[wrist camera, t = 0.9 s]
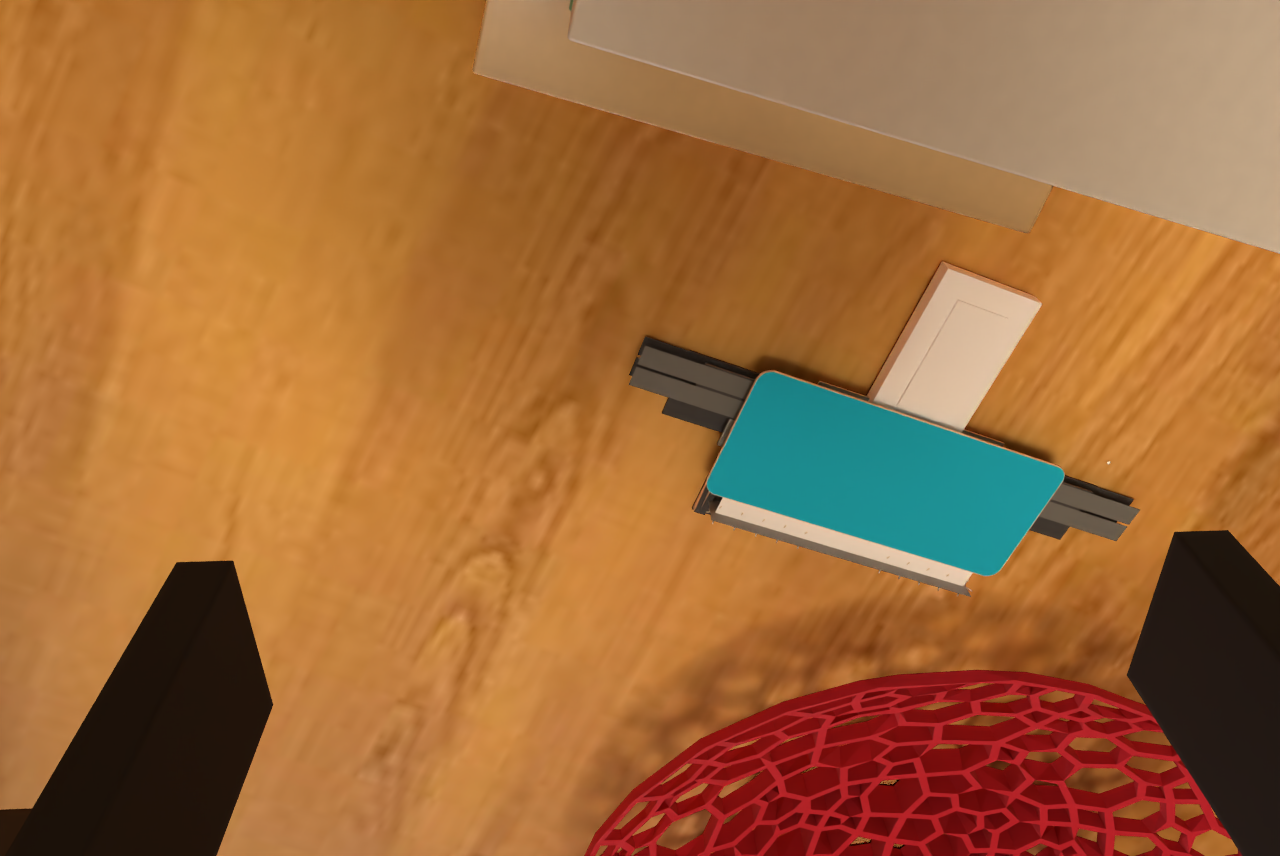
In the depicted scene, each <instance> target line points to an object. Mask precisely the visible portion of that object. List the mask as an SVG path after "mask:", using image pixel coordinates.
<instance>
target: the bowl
mask: <svg viewBox="0 0 1280 856" xmlns="http://www.w3.org/2000/svg"><path fill="white" fill-rule="evenodd" d="M979 683H995V684H991V685H987V686H983V687H979V688H974V689H959V688H963V687H967V686H971V685H975V684H979ZM1056 690H1058V691H1063V692H1068V693H1073V694H1075V695H1074V697H1073V698H1069V699H1066V700H1062V701H1059V702H1055V703H1052V702H1047V701H1042V700H1039V696H1041V695H1044V694H1047V693H1050V692H1053V691H1056ZM1006 695H1027V698H1023V699H1019V700H1016V701H1012V702H1008V703H991V702H982V701H986V700H990V699H994V698H998V697H1002V696H1006ZM1094 699H1096V700H1099V701H1101V702H1104V703H1107V704H1110V705H1112V706H1115V707H1118V708H1119V709H1115V708H1110V707H1104V706H1099V705H1094V704H1091V703H1092V701H1093V700H1094ZM937 702H963V703H959V704H955V705H951V706H948V707H944V708H940V709H936V710H918V709H915V708H919V707H922V706H926V705H930V704H933V703H937ZM874 715H880V716H878V717H876V718H873V719H871V720H869V721H866V722H861V723H856V724H851V725H846V726H841V727H836V728H832V727H834V726H837V725H840V724H843V723H845V722H848V721H851V720H854V719H856V718H859V717H865V716H874ZM975 715H989V716H1008V717H1015V718H1013V719H1010V720H1007V721H1004V722H1001V723H998V724H995V725H992V726H970V725H947V724H950V723H953V722H956V721H959V720H963V719H966V718H969V717H972V716H975ZM811 717H813V718H811ZM808 718H809V719H808ZM1059 718H1064V719H1068V720H1069V721H1063V720H1059ZM1101 718H1109V719H1114V720H1113V721H1110V722H1106V723H1099V722H1095V721H1093V720H1097V719H1101ZM829 728H831V729H829ZM1035 729H1042V730H1048V731H1053V732H1052V733H1051V734H1050V735H1024V734H1026V733H1028V732H1031V731H1033V730H1035ZM1143 730H1147V731H1155V732H1163V731H1162V729H1161V728H1160V726H1159V725H1158V723H1157V721H1156V720H1155V718H1154V717H1153V715H1152V714H1151V712H1150V711H1149V709H1148V707H1147V706H1146V705H1143V704H1141V703H1138V702H1135V701H1133V700H1130V699H1127V698H1125V697H1122V696H1119V695H1117V694H1114V693H1111V692H1108V691H1106V690H1103V689H1100V688H1098V687H1095V686H1092V685H1090V684H1086V683H1081V682H1075V681H1070V680H1065V679H1060V678H1054V677H1049V676H1044V675H1039V674H1033V673H1028V672H1012V671H989V670H967V671H950V672H933V673H916V674H899V675H892V676H886V677H880V678H873V679H867V680H860V681H856V682H853V683H849V684H845V685H842V686H838V687H835V688H831V689H827V690H824V691H820V692H817V693H813V694H809V695H806V696H802V697H798V698H795V699H791V700H788V701H784V702H781V703H779V704H777V705H775V706H772V707H770V708H768V709H766V710H763V711H761V712H759V713H757V714H755V715H752V716H750V717H748V718H746V719H743V720H741V721H739V722H737V723H734V724H732V725H730V726H728V727H726V728H723V729H721V730H719V731H717V732H714V733H712V734H710V735H708V736H705V737H703V738H701V739H699V740H698V741H697V742H695V743H694V744H693V745H691V746H690V747H689V748H687V749H686V750H685V751H684V752H682V753H681V754H680V755H678V756H677V757H676V758H674V759H673V760H672V761H670V762H669V763H668V764H666V765H665V766H664V767H662V768H661V769H660V770H658V771H657V772H656V773H654V774H653V775H652V776H650V777H649V778H648V779H646V780H645V781H644V782H642V783H641V784H640V785H638V786H637V787H636V788H634V789H633V790H632V791H631V792H630V794H629V795H628V796H627V797H626V798H625V799H624V801H623V802H622V803H621V804H620V805H619V806H618V807H617V809H616V810H615V811H614V812H613V813H612V814H611V816H610V817H609V818H608V819H607V820H606V821H605V822H604V824H603V825H602V826H601V827H600V828H599V829H598V831H597V832H596V833H595V835H594V837H593V839H592V841H591V843H590V845H589V847H588V849H587V851H586V853H585V855H584V856H595V855H596V853H597V851H598V849H599V847H600V846H602V845H609V846H608V847H607V848H606V850H605V851H604V853H603V854H601V855H600V856H632V855H631V854H632V853H633V851H634V850H635V849H636V848H640V847H645V846H648V847H646V848H644V849H643V850H641V851H639V852H638V853H636V854H634V855H633V856H1034V855H1032V854H1031V853H1029V852H1027V851H1026V850H1028V849H1030V848H1032V847H1034V846H1036V845H1038V844H1040V843H1041V844H1044V845H1046V846H1047V847H1046V848H1045V849H1043V850H1042V851H1040V852H1039V853H1038V854H1036V855H1035V856H1128V855H1126V854H1124V853H1121V852H1119V851H1117V850H1114V840H1115V835H1120V836H1137V837H1148V838H1149V839H1150V840H1151V841H1152V842H1153V843H1154V844H1155V845H1157V846H1156V847H1155V848H1154V849H1153V850H1152V851H1149V852H1146V853H1143V854H1140V855H1137V856H1204V855H1202V854H1201V853H1199V852H1197V851H1196V850H1194V849H1192V848H1191V847H1192V844H1193V842H1194V839H1195V837H1196V836H1198V835H1200V834H1202V833H1204V832H1207V831H1209V830H1211V829H1212V830H1214V831H1216V832H1218V833H1220V834H1222V835H1224V836H1226V837H1228V838H1230V839H1231V837H1230V836H1229V834H1228V833H1227V831H1226V829H1225V828H1224V826H1223V825H1222V823H1221V822H1220V820H1219V819H1218V818H1216V817H1215V816H1214V814H1213V811H1212V809H1211V807H1210V804H1209V803H1208V801H1207V800H1206V798H1205V797H1204V795H1203V793H1202V792H1201V790H1200V789H1199V787H1198V786H1197V784H1196V782H1195V781H1194V779H1193V778H1192V776H1191V775H1190V773H1189V772H1188V770H1187V768H1186V767H1185V765H1184V764H1183V762H1182V761H1181V759H1180V757H1179V756H1178V754H1177V753H1176V751H1175V750H1174V748H1173V746H1172V745H1171V746H1167V745H1159V744H1151V743H1143V742H1136V741H1130V740H1128V739H1127V738H1125V737H1124V736H1122V735H1126V734H1130V733H1134V732H1139V731H1143ZM1163 733H1164V732H1163ZM807 734H808V735H807ZM803 735H805V736H803ZM799 736H803V737H800V738H797V739H795V740H792V741H789V742H787V743H784V744H781V743H782V742H784V741H785V740H787V739H790V738H794V737H799ZM1076 737H1085V738H1106V739H1108V740H1109V741H1111V742H1112V743H1114V744H1115V745H1117V747H1116V748H1114V749H1113V750H1112V751H1110V752H1097V751H1081V750H1074V749H1073V748H1071V747H1070V746H1069V744H1070V743H1071V742H1072V741H1073V740H1074V739H1075V738H1076ZM760 738H761V739H760ZM756 739H759V740H758V741H756V742H755V743H753V744H751V745H748V746H744V747H741V748H737V749H734V750H730V749H731V748H733V747H734V746H737V745H740V744H743V743H747V742H750V741H753V740H756ZM779 744H781V745H779ZM844 744H846V745H844ZM938 744H969V745H966V746H964V747H961V748H954V749H932V748H933V747H935V746H936V745H938ZM778 745H779V746H778ZM839 745H842V746H839ZM728 750H730V751H728ZM1029 752H1058V753H1059V754H1060V755H1062V756H1061V757H1059V758H1058V759H1056V760H1055V761H1054V762H1052V763H1051V764H1050V763H1044V762H1039V761H1034V760H1029V759H1025V758H1026V756H1027V755H1028V753H1029ZM1132 756H1138V757H1145V758H1153V759H1160V760H1167V761H1174V763H1175V764H1176V765H1177V767H1175V768H1172V769H1170V770H1167V771H1165V772H1162V773H1160V774H1159V773H1154V772H1149V771H1144V770H1140V769H1135V768H1131V767H1130V766H1128V765H1127V764H1126V763H1127V762H1128V761H1129V759H1130V758H1131V757H1132ZM996 760H999V761H1003V762H1007V763H1011V765H1009V766H1008V767H1007V768H1005V769H1004V770H999V769H996V768H992V767H988V766H985V765H987V764H989V763H991V762H994V761H996ZM687 763H688V764H692V765H691V766H690V767H689V768H688V769H687V770H686V771H684V772H683V773H681V774H679V775H678V776H676V777H674V778H673V779H671V780H670V781H668V782H666V783H665V784H663V785H660V784H661V783H662V782H664V781H665V780H666V779H667V778H669V777H670V776H671V775H673V774H674V773H675V772H677V771H678V770H679V769H680V768H682V767H683V766H684V765H686V764H687ZM730 765H731V766H730ZM726 766H729V767H726ZM813 766H817V767H818V768H815V769H813V770H810V771H808V772H806V773H803V774H800V772H802V771H804V770H807V769H809V768H811V767H813ZM724 767H726V768H724ZM1081 768H1117V769H1119V770H1120V771H1121V772H1123V773H1124V774H1126V775H1127V776H1129V777H1130V778H1131V779H1133V780H1134V782H1132V783H1129V784H1126V785H1123V786H1120V787H1117V788H1114V789H1111V790H1109V791H1106V792H1103V793H1100V794H1098V793H1093V792H1088V791H1084V790H1079V789H1074V788H1069V787H1067V786H1066V784H1065V782H1064V781H1065V780H1066V779H1067V778H1069V777H1070V776H1071V775H1073V774H1074V773H1076V772H1077V771H1078V770H1080V769H1081ZM762 770H764V771H763V772H761V773H760V774H759V775H757V776H756V777H755V778H754V779H752V780H751V781H750V782H748V783H747V784H745V785H743V786H742V787H740V788H739V789H737V790H735V791H734V792H732V793H730V794H729V795H727V796H726V797H724V798H720V797H719V796H718V794H719V793H720V792H721V790H722V789H723V787H724V786H726V785H728V784H731V783H733V782H736V781H738V780H741V779H743V778H745V777H748V776H750V775H753V774H755V773H758V772H760V771H762ZM894 779H900V780H899V781H898V782H897V783H896V784H895V785H894V786H888V785H878V784H879V783H880V782H881V781H883V780H894ZM1035 780H1038V781H1044V782H1049V783H1054V784H1058V786H1047V785H1034V784H1032V783H1033V782H1034V781H1035ZM1186 782H1188V784H1189V785H1190V787H1191V789H1172V788H1174V787H1176V786H1179V785H1181V784H1184V783H1186ZM702 783H707V784H709V785H708V786H707V787H706V788H705V790H704V791H703V792H702V793H701V794H698V795H696V796H693V797H691V798H689V799H686V800H684V801H681V802H679V803H676V802H675V801H676V800H677V799H678V798H679V797H680V796H681V795H683V794H685V793H687V792H688V791H690V790H692V789H694V788H695V787H697V786H699V785H701V784H702ZM1154 786H1159V787H1154ZM1141 800H1146V801H1153V802H1160V811H1158V812H1156V813H1154V814H1152V815H1150V816H1148V817H1146V818H1144V819H1142V820H1136V819H1128V818H1121V817H1113V813H1112V812H1114V811H1116V810H1119V809H1121V808H1123V807H1126V806H1128V805H1131V804H1133V803H1136V802H1138V801H1141ZM646 801H649V803H648V804H647V806H646V807H645V808H644V809H643V810H642V811H641V812H640V813H639V814H638V815H636V816H635V817H634V818H633V819H632V820H631V821H630V822H628V823H627V824H626V825H625V826H624V827H623V828H622V829H614V828H615V827H616V826H617V825H618V824H619V822H620V821H621V820H622V819H623V818H624V817H625V816H626V814H627V813H628V812H629V811H630V810H631V809H632V808H633V806H634V805H635V804H636V803H638V802H646ZM1175 804H1199V805H1200V807H1201V809H1202V811H1203V813H1204V814H1202V815H1199V816H1196V817H1194V818H1191V819H1189V820H1186V821H1183V820H1182V819H1180V818H1178V817H1177V816H1175ZM703 809H706V810H708V811H709V812H710V813H711V817H710V819H709V821H708V823H707V825H706V828H705V830H704V832H703V834H701V835H700V836H698V837H697V838H695V839H693V840H692V841H690V842H688V843H687V844H685V845H684V846H682V847H680V848H679V849H677V850H672V849H669V848H666V847H663V846H660V845H657V844H656V841H657V840H658V839H659V838H660V837H661V835H662V834H663V833H664V832H665V831H666V829H667V828H668V827H669V826H670V825H671V823H672V822H674V821H677V820H679V819H681V818H684V817H686V816H689V815H691V814H693V813H696V812H698V811H700V810H703ZM740 810H741V811H740ZM1087 810H1091V811H1098V814H1097V813H1094V812H1090V811H1087ZM738 811H740V812H739V813H738V814H737V815H736V816H735V817H734V818H733V819H732V820H731V821H730V822H727V823H725V824H723V823H724V820H725V819H726V818H728V817H729V816H731V815H733V814H735V813H737V812H738ZM662 813H666V814H665V815H664V816H663V818H662V819H661V820H660V821H659V823H658V824H657V825H656V826H655V827H653V828H650V829H648V830H646V831H643V832H641V833H639V834H637V835H634V836H632V835H633V834H634V833H635V832H636V831H637V830H638V829H639V828H640V827H641V826H643V825H644V824H645V823H646V822H647V821H648V820H649V819H650V818H651V817H654V816H657V815H659V814H662ZM1169 827H1173V828H1175V829H1176V830H1178V831H1180V832H1182V833H1181V835H1180V838H1179V841H1178V842H1176V841H1171V840H1167V839H1163V838H1162V837H1160V836H1159V835H1158V834H1156V832H1158V831H1161V830H1164V829H1166V828H1169ZM754 828H755V829H754ZM1079 828H1080V829H1085V830H1090V831H1095V832H1098V834H1097V842H1094V841H1091V840H1088V839H1085V838H1082V837H1079V836H1076V834H1077V832H1078V830H1079ZM753 829H754V830H753ZM784 833H785V834H784ZM944 833H945V834H947V835H945V834H944ZM782 834H783V835H782ZM779 835H781V836H779ZM778 836H779V837H778ZM858 836H859V837H864V838H869V839H872V840H871V843H869V844H862V845H855V846H849V845H850V844H851V843H852V842H853V841H854V840H855V839H856V838H857V837H858ZM894 843H895V844H904V845H905V846H904V847H902V848H901V849H897V848H893V845H894ZM620 847H621V848H623V849H622V850H621V851H620V852H619V853H618V852H617V851H618V849H619V848H620ZM711 852H713V853H712V854H710V853H711ZM1227 856H1242V854H1241V853H1240V851H1239V850H1238V854H1234V855H1227Z"/></svg>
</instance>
